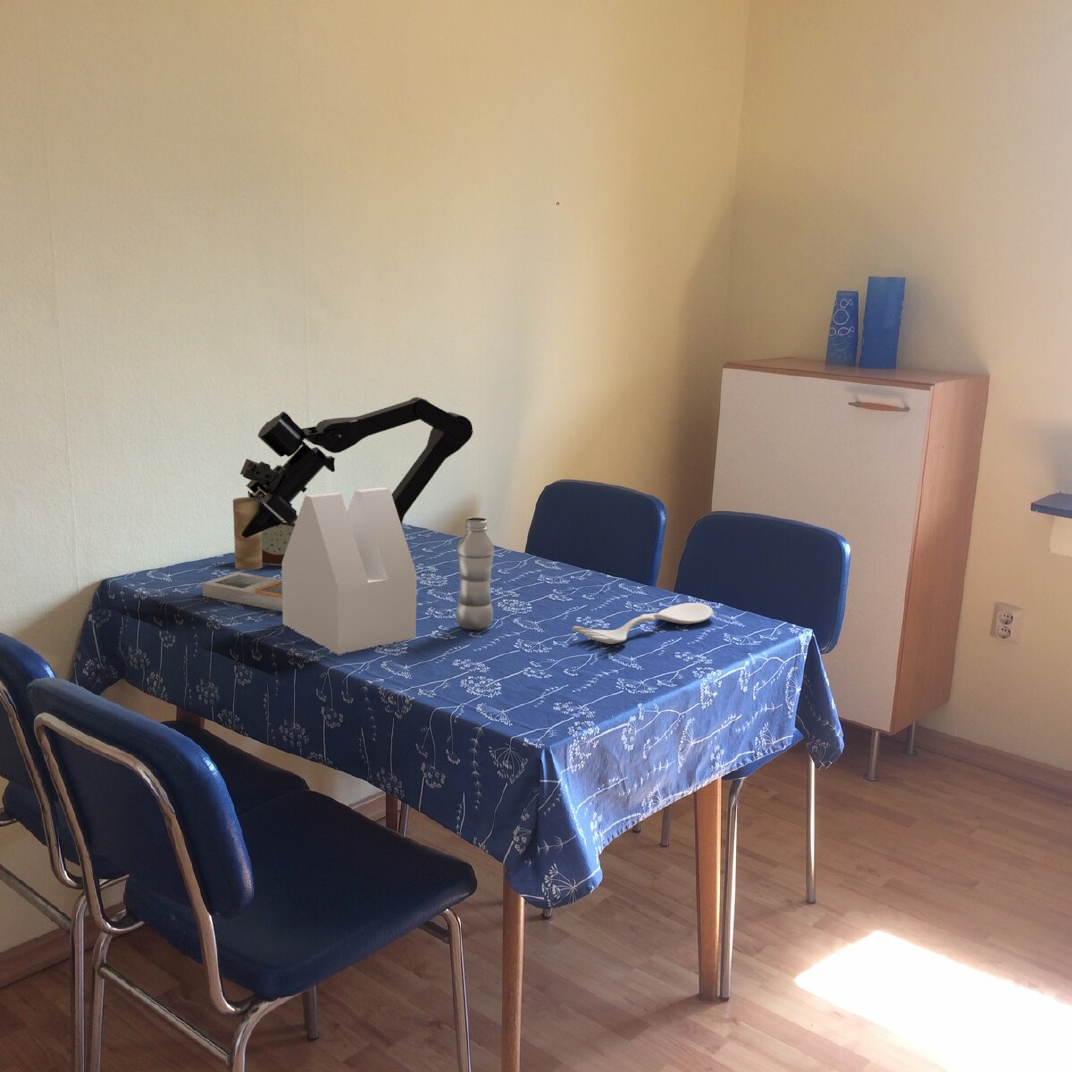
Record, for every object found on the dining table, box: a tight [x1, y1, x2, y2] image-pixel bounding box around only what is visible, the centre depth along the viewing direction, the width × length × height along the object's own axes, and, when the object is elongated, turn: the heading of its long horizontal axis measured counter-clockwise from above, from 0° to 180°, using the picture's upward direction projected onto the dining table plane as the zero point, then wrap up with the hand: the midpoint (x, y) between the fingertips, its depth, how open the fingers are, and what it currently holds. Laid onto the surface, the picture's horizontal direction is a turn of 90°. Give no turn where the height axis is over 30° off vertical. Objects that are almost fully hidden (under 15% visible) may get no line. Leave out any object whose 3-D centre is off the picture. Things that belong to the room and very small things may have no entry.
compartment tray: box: [202, 571, 283, 613], centre depth 212 cm, size 21×10×3 cm, turn 65°
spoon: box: [571, 602, 714, 645], centre depth 201 cm, size 9×32×4 cm, turn 134°
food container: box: [261, 514, 299, 566], centre depth 238 cm, size 12×6×10 cm, turn 84°
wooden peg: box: [232, 496, 263, 571], centre depth 211 cm, size 5×5×13 cm
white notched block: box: [281, 486, 418, 655], centre depth 192 cm, size 19×15×25 cm
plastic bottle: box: [455, 516, 495, 631], centre depth 197 cm, size 6×7×20 cm
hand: (240, 533), depth 210 cm, fingers closed on wooden peg, 5 cm apart
